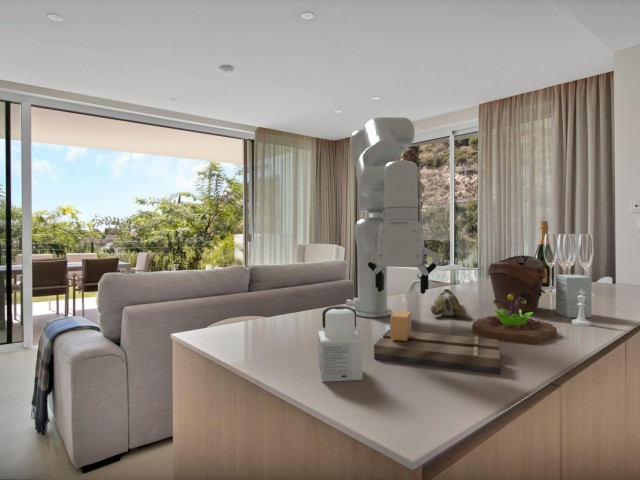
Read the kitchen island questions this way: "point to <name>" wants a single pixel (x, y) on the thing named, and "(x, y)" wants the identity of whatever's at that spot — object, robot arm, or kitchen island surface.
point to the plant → (514, 325)
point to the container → (339, 346)
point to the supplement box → (572, 294)
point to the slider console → (441, 351)
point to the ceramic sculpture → (447, 304)
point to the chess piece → (581, 312)
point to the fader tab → (400, 325)
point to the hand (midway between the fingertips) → (401, 291)
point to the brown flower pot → (518, 281)
